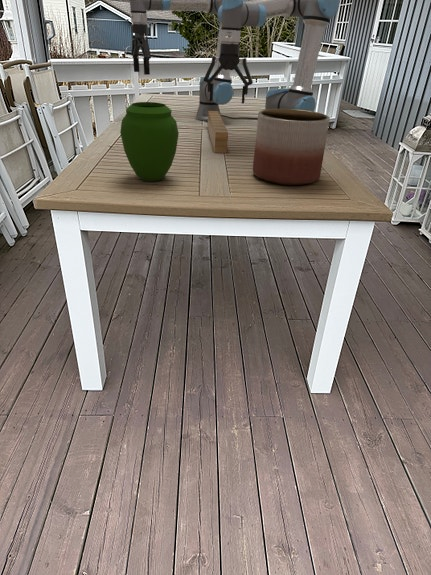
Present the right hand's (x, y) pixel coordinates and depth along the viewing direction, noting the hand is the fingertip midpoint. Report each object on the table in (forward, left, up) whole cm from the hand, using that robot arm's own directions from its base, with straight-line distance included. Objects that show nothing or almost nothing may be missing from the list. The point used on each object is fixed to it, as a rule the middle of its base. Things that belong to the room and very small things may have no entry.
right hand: (227, 101), depth 172 cm
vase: (+49, +10, -21) cm, 54 cm away
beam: (-16, -21, -21) cm, 34 cm away
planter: (+8, +39, -21) cm, 45 cm away
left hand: (-5, -64, +5) cm, 65 cm away
